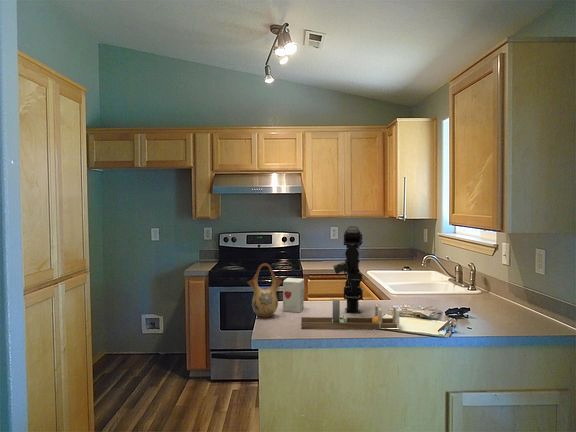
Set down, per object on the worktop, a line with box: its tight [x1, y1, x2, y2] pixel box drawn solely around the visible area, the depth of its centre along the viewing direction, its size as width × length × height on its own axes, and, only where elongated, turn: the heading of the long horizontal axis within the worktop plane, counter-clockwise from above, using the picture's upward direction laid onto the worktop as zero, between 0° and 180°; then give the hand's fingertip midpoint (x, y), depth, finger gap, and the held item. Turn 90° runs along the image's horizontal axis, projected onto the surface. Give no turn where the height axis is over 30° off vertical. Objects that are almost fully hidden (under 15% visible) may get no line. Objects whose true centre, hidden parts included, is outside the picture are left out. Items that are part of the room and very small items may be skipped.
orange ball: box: [372, 316, 382, 323], centre depth 165 cm, size 4×4×4 cm
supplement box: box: [282, 277, 305, 313], centre depth 191 cm, size 9×9×15 cm
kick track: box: [300, 303, 401, 331], centre depth 166 cm, size 8×41×8 cm, turn 88°
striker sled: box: [332, 299, 348, 323], centre depth 166 cm, size 6×6×11 cm
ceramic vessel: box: [246, 262, 283, 318], centre depth 180 cm, size 16×9×25 cm, turn 95°
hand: (352, 291), depth 174 cm, fingers open, 9 cm apart
